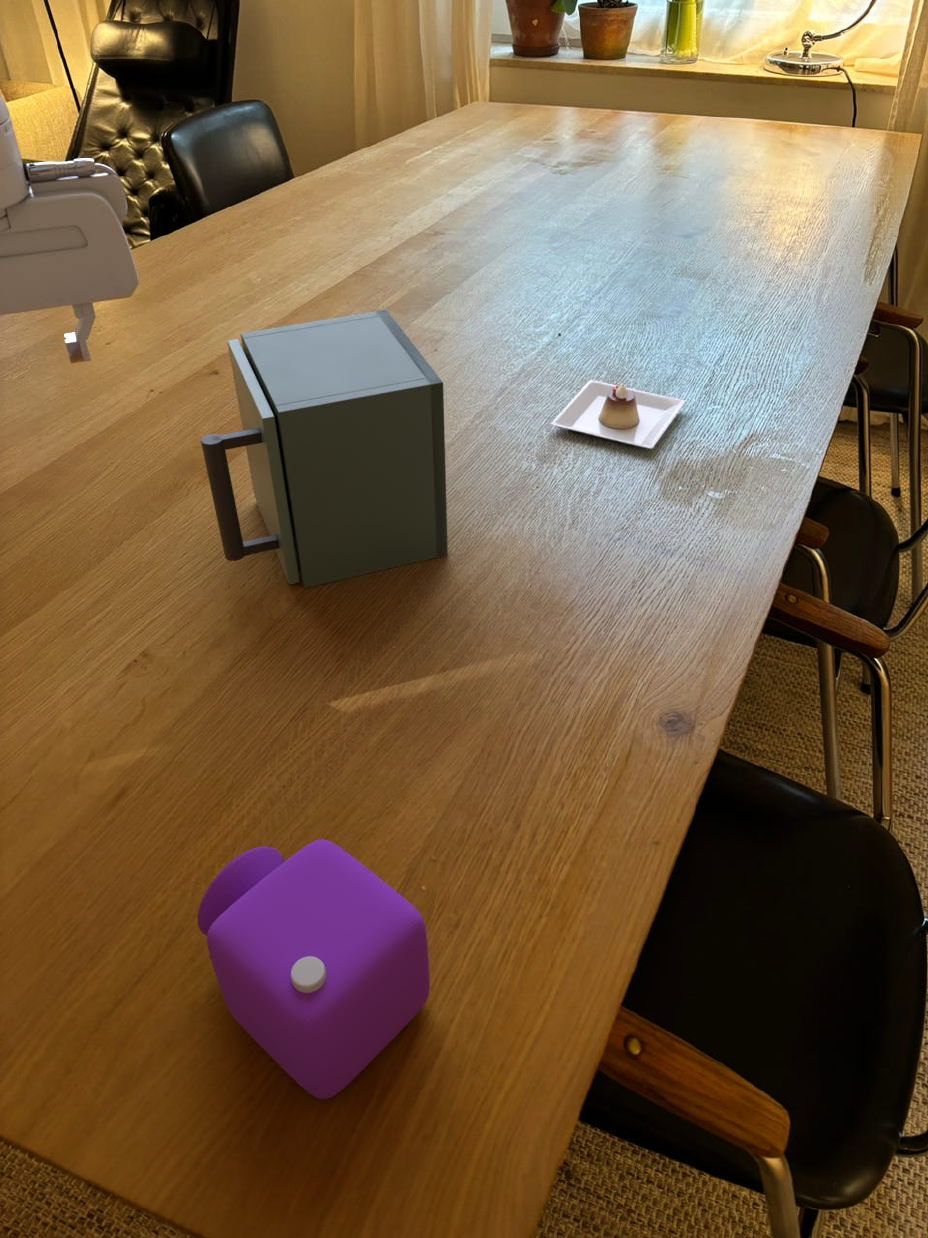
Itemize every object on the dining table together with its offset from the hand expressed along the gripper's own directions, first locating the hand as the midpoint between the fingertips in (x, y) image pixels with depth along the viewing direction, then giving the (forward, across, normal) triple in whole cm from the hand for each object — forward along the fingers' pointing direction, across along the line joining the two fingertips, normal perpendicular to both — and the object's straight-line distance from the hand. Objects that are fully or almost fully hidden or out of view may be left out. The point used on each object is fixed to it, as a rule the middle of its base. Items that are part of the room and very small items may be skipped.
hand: (14, 369), depth 73 cm
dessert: (+23, -60, -14) cm, 65 cm away
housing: (+23, -26, -5) cm, 35 cm away
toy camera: (+24, -10, +42) cm, 49 cm away
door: (+23, -15, -5) cm, 28 cm away
